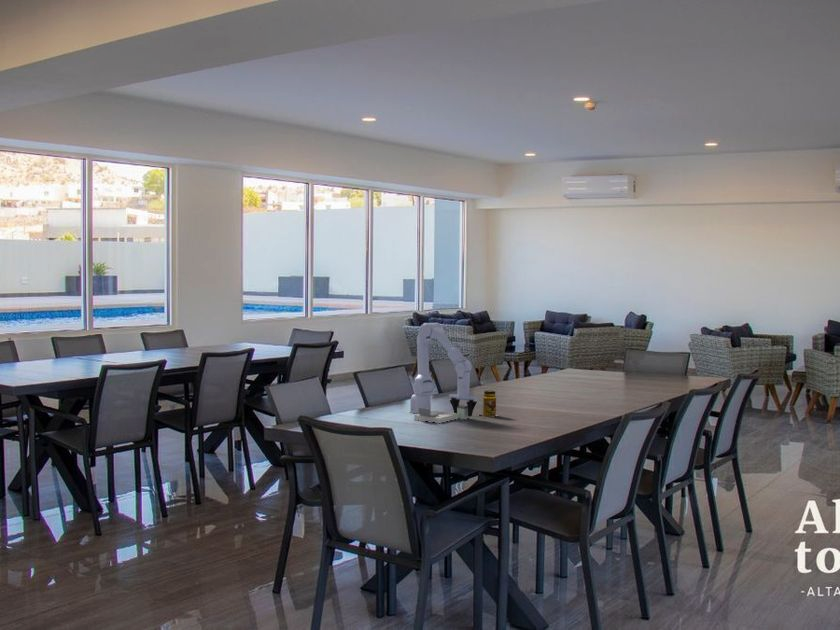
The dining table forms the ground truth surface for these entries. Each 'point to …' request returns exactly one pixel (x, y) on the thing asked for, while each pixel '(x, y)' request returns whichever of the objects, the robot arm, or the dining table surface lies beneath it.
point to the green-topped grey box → (462, 411)
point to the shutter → (427, 412)
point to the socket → (438, 417)
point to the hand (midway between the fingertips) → (463, 415)
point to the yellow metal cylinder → (489, 404)
